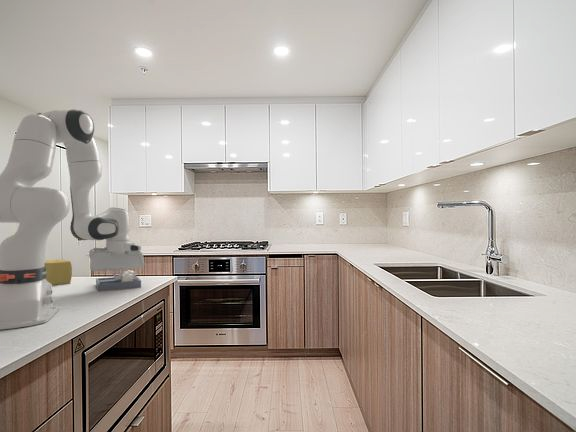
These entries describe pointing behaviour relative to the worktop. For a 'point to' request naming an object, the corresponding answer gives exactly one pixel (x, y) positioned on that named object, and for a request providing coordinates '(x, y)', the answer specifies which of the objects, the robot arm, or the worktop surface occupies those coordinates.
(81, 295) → the worktop surface
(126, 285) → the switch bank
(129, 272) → the tab far
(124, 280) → the tab near
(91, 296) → the worktop surface
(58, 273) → the cheese
